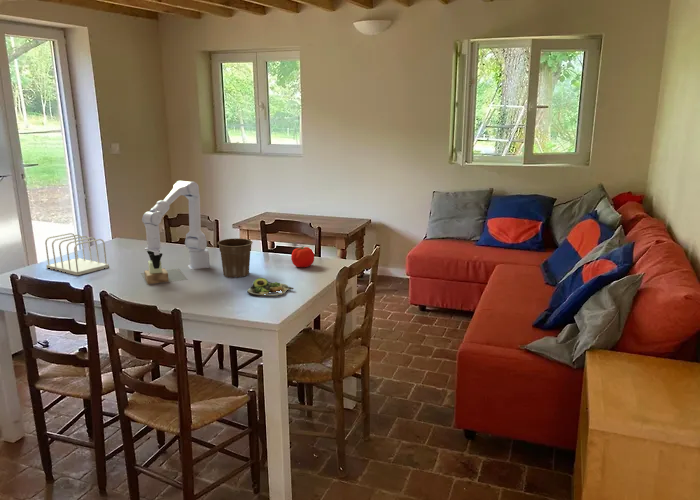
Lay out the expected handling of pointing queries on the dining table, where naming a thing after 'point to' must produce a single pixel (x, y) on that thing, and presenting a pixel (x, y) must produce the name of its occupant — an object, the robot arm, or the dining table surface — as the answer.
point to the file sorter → (76, 257)
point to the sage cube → (151, 268)
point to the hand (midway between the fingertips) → (155, 266)
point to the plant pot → (235, 257)
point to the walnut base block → (156, 277)
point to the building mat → (171, 275)
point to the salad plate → (267, 288)
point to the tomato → (302, 257)
